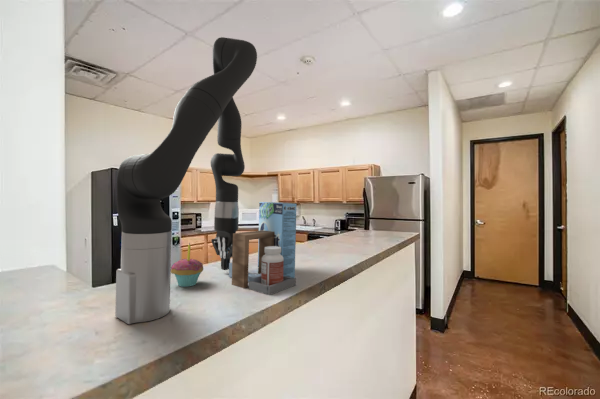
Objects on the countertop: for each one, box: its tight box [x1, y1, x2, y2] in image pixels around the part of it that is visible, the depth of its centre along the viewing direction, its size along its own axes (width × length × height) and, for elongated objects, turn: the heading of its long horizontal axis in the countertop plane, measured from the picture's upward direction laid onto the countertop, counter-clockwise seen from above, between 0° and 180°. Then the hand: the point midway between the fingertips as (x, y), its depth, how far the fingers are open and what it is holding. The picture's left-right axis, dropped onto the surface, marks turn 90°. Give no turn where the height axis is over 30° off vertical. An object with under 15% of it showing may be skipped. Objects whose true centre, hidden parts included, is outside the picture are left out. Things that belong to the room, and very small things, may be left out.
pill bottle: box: [261, 246, 284, 286], centre depth 81 cm, size 6×6×11 cm
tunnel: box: [231, 230, 274, 289], centre depth 85 cm, size 5×12×14 cm, turn 143°
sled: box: [228, 262, 261, 283], centre depth 87 cm, size 13×8×4 cm, turn 53°
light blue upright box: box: [257, 201, 297, 278], centre depth 94 cm, size 20×5×23 cm, turn 29°
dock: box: [248, 276, 297, 296], centre depth 81 cm, size 11×8×2 cm
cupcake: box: [171, 242, 204, 288], centre depth 81 cm, size 9×8×12 cm
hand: (225, 269), depth 93 cm, fingers closed
